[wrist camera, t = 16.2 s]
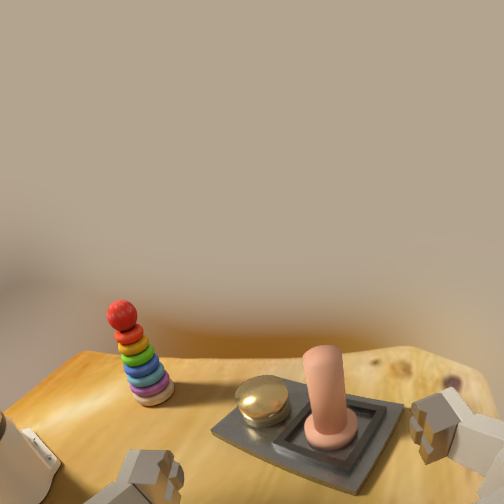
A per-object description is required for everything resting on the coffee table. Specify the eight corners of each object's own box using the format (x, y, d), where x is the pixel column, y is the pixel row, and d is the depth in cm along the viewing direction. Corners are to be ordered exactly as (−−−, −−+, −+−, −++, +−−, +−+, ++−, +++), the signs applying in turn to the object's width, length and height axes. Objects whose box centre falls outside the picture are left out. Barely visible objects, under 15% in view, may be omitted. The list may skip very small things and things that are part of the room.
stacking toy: (142, 414, 45) (94, 317, 41) (132, 392, 52) (90, 305, 47) (182, 395, 49) (141, 298, 45) (167, 376, 56) (131, 288, 51)
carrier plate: (213, 435, 38) (201, 411, 37) (273, 380, 48) (266, 356, 47) (356, 496, 23) (355, 474, 22) (403, 410, 33) (405, 383, 32)
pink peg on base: (295, 441, 32) (278, 368, 30) (321, 409, 37) (310, 335, 34) (342, 456, 28) (336, 381, 25) (365, 419, 33) (363, 342, 30)
